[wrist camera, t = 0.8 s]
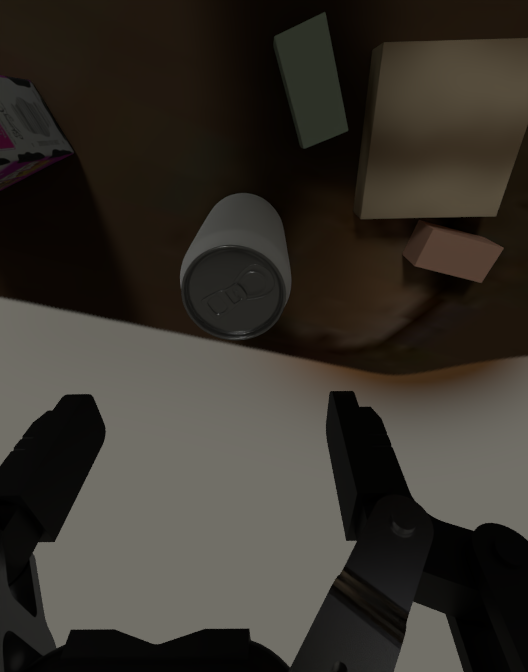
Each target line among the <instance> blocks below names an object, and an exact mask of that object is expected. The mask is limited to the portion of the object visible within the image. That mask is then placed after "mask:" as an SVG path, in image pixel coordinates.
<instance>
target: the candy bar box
mask: <svg viewBox="0 0 528 672" xmlns="http://www.w3.org/2000/svg"><path fill="white" fill-rule="evenodd" d="M72 154H74V151H73V149H72V147H71V145H70V144H69V142H68V140H67V139H66V137H65V136H64V134H63V132H62V131H61V130H60V128H59V127H58V125H57V123H56V121H55V120H54V118H53V116H52V114H51V113H50V111H49V110H48V108H47V106H46V104H45V102H44V101H43V99H42V97H41V96H40V94H39V93H38V91H37V90H36V88H35V86H34V85H33V83H32V82H31V81H30V80H25V79H19V78H13V77H7V76H1V75H0V191H1V190H3V189H5V188H7V187H9V186H11V185H13V184H15V183H17V182H19V181H21V180H23V179H25V178H26V177H28V176H30V175H32V174H34V173H36V172H38V171H40V170H42V169H44V168H46V167H48V166H50V165H52V164H54V163H56V162H58V161H60V160H62V159H64V158H66V157H68V156H70V155H72Z"/></svg>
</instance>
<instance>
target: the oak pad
mask: <svg viewBox="0 0 528 672" xmlns="http://www.w3.org/2000/svg"><path fill="white" fill-rule="evenodd" d="M527 125H528V38H519V39H484V40H448V41H413V42H384V43H382V44H381V45H379V46H378V47H376V48H374V49H373V50H372V57H371V65H370V74H369V82H368V90H367V99H366V107H365V116H364V124H363V132H362V141H361V149H360V158H359V166H358V174H357V183H356V191H355V200H354V208H353V212H354V213H355V214H356V215H357V216H358V217H359V218H360V219H392V218H439V217H485V216H496V215H497V212H498V209H499V206H500V203H501V200H502V197H503V194H504V192H505V189H506V186H507V183H508V180H509V177H510V174H511V171H512V168H513V165H514V163H515V160H516V157H517V154H518V151H519V148H520V145H521V142H522V139H523V136H524V134H525V131H526V128H527Z"/></svg>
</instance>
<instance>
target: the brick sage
mask: <svg viewBox="0 0 528 672" xmlns="http://www.w3.org/2000/svg"><path fill="white" fill-rule="evenodd" d="M273 47H274V51H275V54H276V58H277V62H278V66H279V69H280V73H281V77H282V81H283V84H284V88H285V92H286V96H287V99H288V103H289V107H290V110H291V114H292V118H293V122H294V125H295V129H296V133H297V137H298V140H299V144H300V147H302V148H303V149H305V148H308V147H310V146H313V145H315V144H318V143H320V142H322V141H325V140H327V139H330V138H332V137H335V136H337V135H340V134H342V133H344V132H347V131H348V126H347V121H346V115H345V110H344V105H343V100H342V95H341V90H340V85H339V80H338V74H337V69H336V64H335V59H334V54H333V49H332V44H331V38H330V33H329V28H328V23H327V18H326V13H325V12H324V13H322V14H320V15H318V16H315V17H313V18H311V19H309V20H307V21H305V22H303V23H301V24H299V25H297V26H295V27H293V28H291V29H289V30H286V31H284V32H282V33H280V34H278V35H276V36H274V43H273Z"/></svg>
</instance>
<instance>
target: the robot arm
mask: <svg viewBox="0 0 528 672" xmlns="http://www.w3.org/2000/svg"><path fill="white" fill-rule="evenodd" d="M105 432H106V431H105V425H104V422H103V420H102V417H101V415H100V412H99V410H98V407H97V405H96V403H95V400H94V398H93V397H92V395H89V394H75V395H74V394H72V395H65V396H64V397H62V398H61V400H60V401H59V402H58V404H57V405H56V407H55V408H54V409H53V411H47V412H46V413H45V414H43V415H42V416H41V417H40V418H38V419H37V420H36V421H34V422H33V423H32V425H31V426H30V427H29V429H28V430H27V431H26V433H25V434H24V435H23V438H22V439H21V440H20V441H19V442H18V443H17V444H16V446H15V447H14V451H11V452H10V454H9V455H8V456H7V458H6V459H5V460H4V462H3V463H2V464H1V466H0V672H394V668H395V665H396V662H397V659H398V656H399V653H400V650H401V646H402V643H403V639H404V636H405V632H406V622H407V618H408V615H409V612H410V609H411V606H412V603H413V602H416V603H419V604H421V605H424V606H427V607H429V608H432V609H434V610H437V611H440V612H442V613H445V614H446V617H447V620H448V623H449V626H450V629H451V633H452V636H453V639H454V642H455V645H456V648H457V652H458V655H459V658H460V661H461V664H462V668H463V671H464V672H528V541H527V540H526V539H525V538H524V537H523V536H521V535H520V534H519V533H517V532H516V531H514V530H512V529H510V528H508V527H506V526H503V525H500V524H495V523H485V524H482V525H480V526H478V527H477V529H475V531H472V530H469V529H465V528H462V527H459V526H455V525H452V524H449V523H445V522H443V521H440V520H438V519H436V518H434V517H432V516H431V515H429V514H428V513H426V511H425V510H424V509H423V508H422V507H421V506H420V505H419V504H418V503H416V502H415V501H414V499H413V497H412V496H411V493H410V491H409V489H408V486H407V484H406V481H405V478H404V476H403V473H402V471H401V468H400V466H399V463H398V460H397V458H396V455H395V453H394V450H393V448H392V447H391V442H390V440H389V437H388V436H387V432H386V430H385V427H384V424H383V422H382V419H381V418H380V417H379V416H378V415H377V414H376V412H375V411H374V410H373V409H372V408H371V407H359V405H358V402H357V400H356V397H355V393H354V392H353V391H331V392H330V395H329V403H328V411H327V420H326V436H327V443H328V448H329V453H330V459H331V463H332V469H333V474H334V479H335V484H336V489H337V495H338V500H339V505H340V511H341V516H342V521H343V526H344V531H345V537H346V541H355V540H356V541H357V543H356V545H355V546H354V549H353V550H352V552H351V555H350V557H349V559H348V561H347V563H346V565H345V567H344V569H343V570H342V572H341V574H340V575H338V576H337V578H336V579H335V581H334V583H333V584H332V586H331V588H330V590H329V592H328V594H327V596H326V598H325V600H324V602H323V604H322V606H321V608H320V610H319V612H318V614H317V616H316V618H315V620H314V622H313V624H312V626H311V628H310V630H309V632H308V634H307V636H306V638H305V640H304V642H303V644H302V646H301V648H300V650H299V652H298V654H297V656H296V658H295V660H294V662H293V664H292V666H291V667H289V666H288V665H287V664H286V663H285V662H284V661H283V660H282V659H281V658H280V657H279V656H278V655H276V654H275V653H274V652H273V651H271V650H270V649H268V648H266V647H264V646H263V645H261V644H259V643H256V642H254V641H251V639H250V632H249V629H204V630H201V631H198V632H195V633H192V634H189V635H186V636H183V637H180V638H177V639H174V640H171V641H168V642H165V643H162V644H158V645H157V644H151V643H149V642H146V641H144V640H141V639H138V638H136V637H133V636H130V635H128V634H125V633H122V632H120V631H117V630H113V629H112V630H71V631H70V634H69V636H68V639H67V642H66V644H65V645H63V646H61V647H59V648H56V645H55V642H54V639H53V637H52V635H51V632H50V630H49V628H48V626H47V623H46V620H45V616H44V610H43V604H42V598H41V592H40V585H39V579H38V573H37V567H36V560H35V557H34V555H33V551H34V549H35V547H36V545H37V543H38V542H55V540H56V538H57V536H58V534H59V532H60V530H61V528H62V526H63V524H64V522H65V520H66V518H67V516H68V514H69V512H70V510H71V507H72V506H73V503H74V502H75V500H76V498H77V495H78V493H79V491H80V489H81V487H82V485H83V483H84V481H85V479H86V477H87V475H88V473H89V471H90V469H91V467H92V465H93V463H94V461H95V459H96V457H97V455H98V453H99V451H100V448H101V447H102V445H103V442H104V439H105Z"/></svg>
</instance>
